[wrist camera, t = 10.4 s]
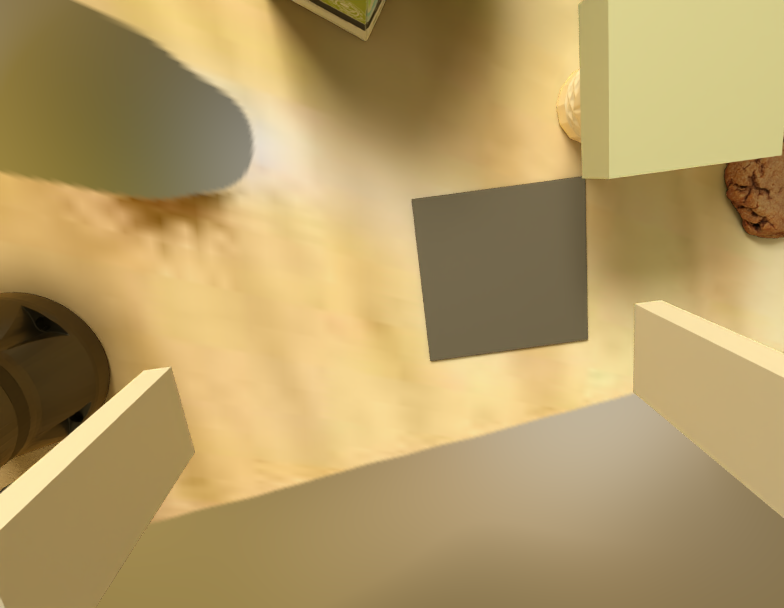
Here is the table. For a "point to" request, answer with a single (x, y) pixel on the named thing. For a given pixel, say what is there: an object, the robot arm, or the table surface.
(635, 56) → the lid
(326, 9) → the tea box
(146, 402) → the robot arm
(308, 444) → the table surface
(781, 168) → the cookie
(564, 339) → the mat
